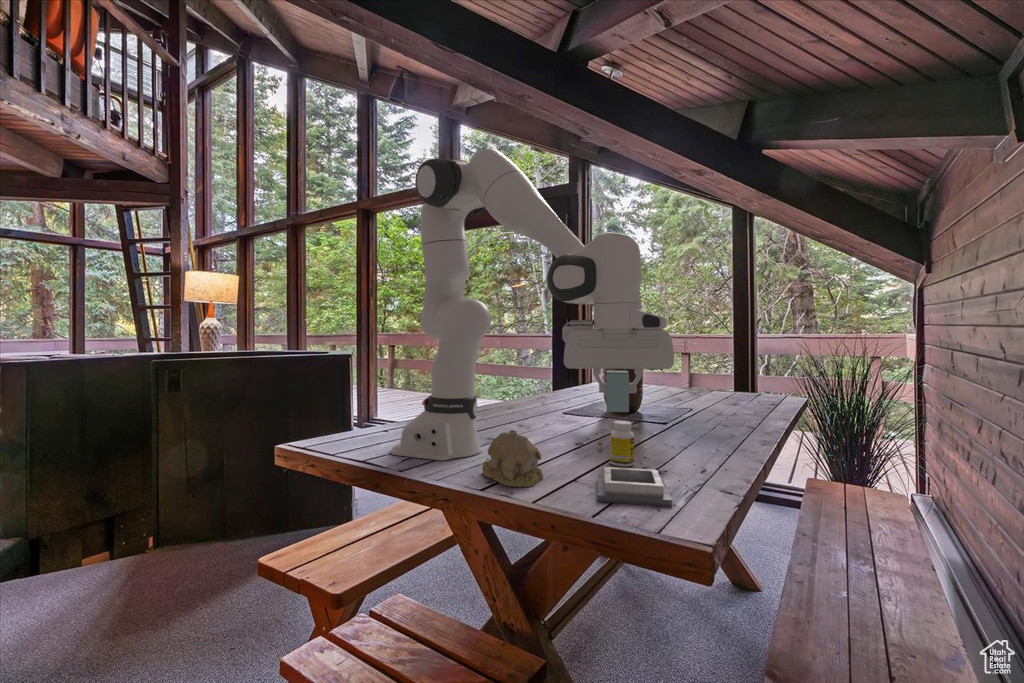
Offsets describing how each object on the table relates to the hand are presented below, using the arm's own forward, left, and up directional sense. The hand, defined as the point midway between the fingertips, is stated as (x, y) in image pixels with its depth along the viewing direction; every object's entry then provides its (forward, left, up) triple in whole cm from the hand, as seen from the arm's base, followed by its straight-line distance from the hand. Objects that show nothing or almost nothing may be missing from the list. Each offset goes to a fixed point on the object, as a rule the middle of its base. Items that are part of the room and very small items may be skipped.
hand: (617, 392), depth 91 cm
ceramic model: (-21, +7, -20) cm, 30 cm away
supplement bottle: (+2, +22, -20) cm, 29 cm away
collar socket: (+3, +2, -19) cm, 20 cm away
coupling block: (0, 0, -3) cm, 3 cm away
